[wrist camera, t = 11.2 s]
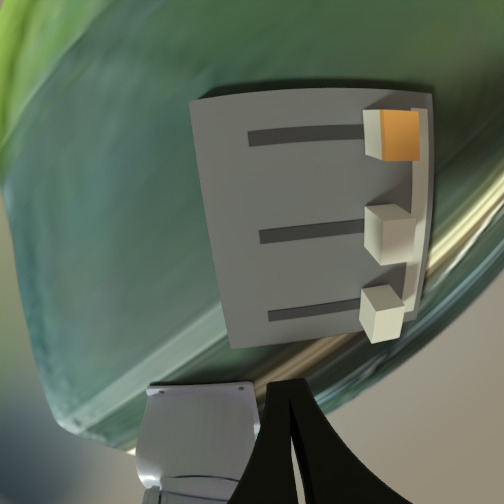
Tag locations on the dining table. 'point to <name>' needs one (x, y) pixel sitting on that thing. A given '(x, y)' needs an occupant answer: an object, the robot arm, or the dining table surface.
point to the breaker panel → (312, 213)
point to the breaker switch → (392, 135)
